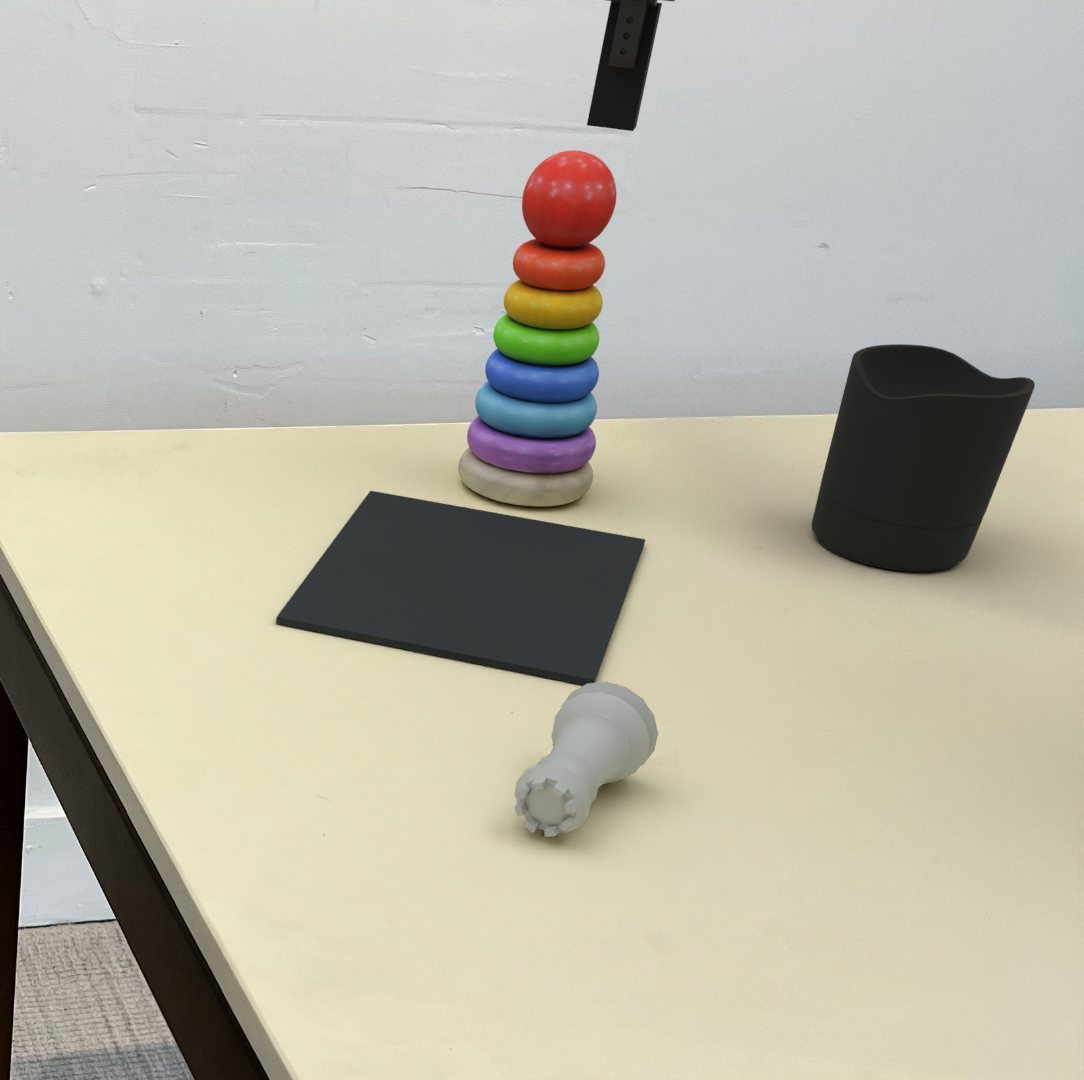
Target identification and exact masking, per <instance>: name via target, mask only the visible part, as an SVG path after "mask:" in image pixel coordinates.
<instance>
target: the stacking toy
mask: <svg viewBox="0 0 1084 1080" xmlns="http://www.w3.org/2000/svg"><path fill="white" fill-rule="evenodd" d="M616 184H617V183H616V181H615V177H614V175H613V173H612V171H611V170H610V168H609V166H608V165H607V164H606V163H605V162H604V161H603V160H602V159H601V158H600V157H598V156H597V155H595V154H592V153H589V152H587V151H584V150H563V151H560V152H557V153H553V154H552V155H550V156H548V157H547V158H545V159H544V160H543V161H541V162H540V163H539V164H538V165H537V166H536V167H535V168H534V170H532V172H531V174H530V175H529V176H528V179H527V181H526V183H525V186H524V189H523V193H522V199H521V212H522V217H523V221H524V223H525V225H526V228H527V230H528V231H529V233H530V234H531V235H532V237H534V238H533V239H530V240H528V241H525V242H523V243H522V244H521V245H520V246H519V247H518V248H516V250H515V252H514V255H513V257H512V270H513V272H514V274H515V275H516V277H517V278H518V280H516V281H514V282H512V283H511V284H510V285H509V286H508V287H507V289H506V291H505V293H504V296H503V307H504V310H505V312H506V313H505V314H504V315H503V316H501V317H500V318H499V319H498V320H497V322H496V324H495V326H494V329H493V335H492V336H493V337H492V338H493V342H494V345H495V348H496V349H494V351H493V352H492V353H490V355H489V357H488V358H487V360H486V363H485V369H484V371H485V376H486V380H487V381H486V382H484V383H483V384H482V385H481V386H480V388H479V389H478V391H477V393H476V396H475V399H474V400H475V401H474V403H475V404H474V405H475V410H476V413H477V416H476V417H475V418H474V419H473V420H472V421H471V423H470V424H469V426H468V429H467V432H466V433H467V434H466V439H467V445H468V447H467V448H466V449H465V450H464V451H463V452H462V454H461V456H460V458H459V461H458V466H457V467H458V468H457V470H458V475H459V478H460V480H461V481H462V482H463V484H464V485H465V486H466V487H467V488H469V489H470V490H472V491H473V492H475V493H476V494H479V495H481V496H483V497H485V498H488V499H491V500H493V501H496V502H500V503H505V504H510V505H515V506H524V507H556V506H561V505H562V506H563V505H566V504H570V503H573V502H575V501H577V500H579V499H581V498H582V497H583V496H585V495H586V493H587V492H588V491H589V490H590V488H591V486H592V484H593V480H594V471H593V468H592V465H591V463H590V462H589V461H591V459H592V457H593V455H594V453H595V450H596V446H597V439H596V435H595V433H594V431H593V429H592V428H591V427H590V426H592V424H593V422H594V421H595V419H596V417H597V413H598V412H597V410H598V406H597V405H598V404H597V400H596V398H595V396H594V394H593V393H592V392H593V391H594V389H595V388H596V386H597V384H598V381H599V376H600V369H599V366H598V363H597V361H596V360H595V359H594V358H593V356H594V354H595V353H596V351H597V349H598V347H599V343H600V332H599V329H598V327H597V324H595V323H594V322H595V321H596V320H597V319H598V317H599V316H600V314H601V312H602V309H603V303H604V302H603V296H602V293H601V291H600V290H599V289H598V287H596V286H595V284H596V283H597V282H598V281H599V280H600V279H601V278H602V276H603V274H604V272H605V268H606V259H605V256H604V253H603V251H602V250H601V249H600V248H599V247H598V246H596V245H595V244H593V243H592V242H593V241H594V240H595V239H597V238H598V237H599V236H601V234H602V233H603V232H604V230H605V229H606V227H608V225H609V223H610V221H611V219H612V217H613V215H614V212H615V208H616V203H617V185H616Z"/></svg>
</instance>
